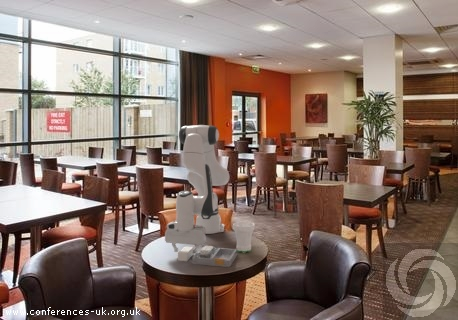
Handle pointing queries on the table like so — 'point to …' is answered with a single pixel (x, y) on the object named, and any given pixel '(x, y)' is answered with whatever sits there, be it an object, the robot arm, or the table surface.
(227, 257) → the tray
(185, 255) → the white rectangular block
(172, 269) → the table surface
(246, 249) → the cup
